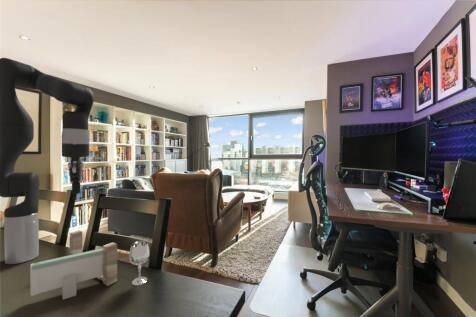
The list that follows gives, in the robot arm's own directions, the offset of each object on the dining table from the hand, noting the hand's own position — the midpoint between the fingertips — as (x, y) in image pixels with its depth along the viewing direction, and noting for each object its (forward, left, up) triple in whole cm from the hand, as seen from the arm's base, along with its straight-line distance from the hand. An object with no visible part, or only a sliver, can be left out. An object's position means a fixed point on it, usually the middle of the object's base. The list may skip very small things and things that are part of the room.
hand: (76, 193), depth 73 cm
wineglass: (+24, +7, -27) cm, 37 cm away
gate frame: (+6, +2, -27) cm, 28 cm away
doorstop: (+12, -7, -27) cm, 31 cm away
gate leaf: (+11, -6, -25) cm, 28 cm away
